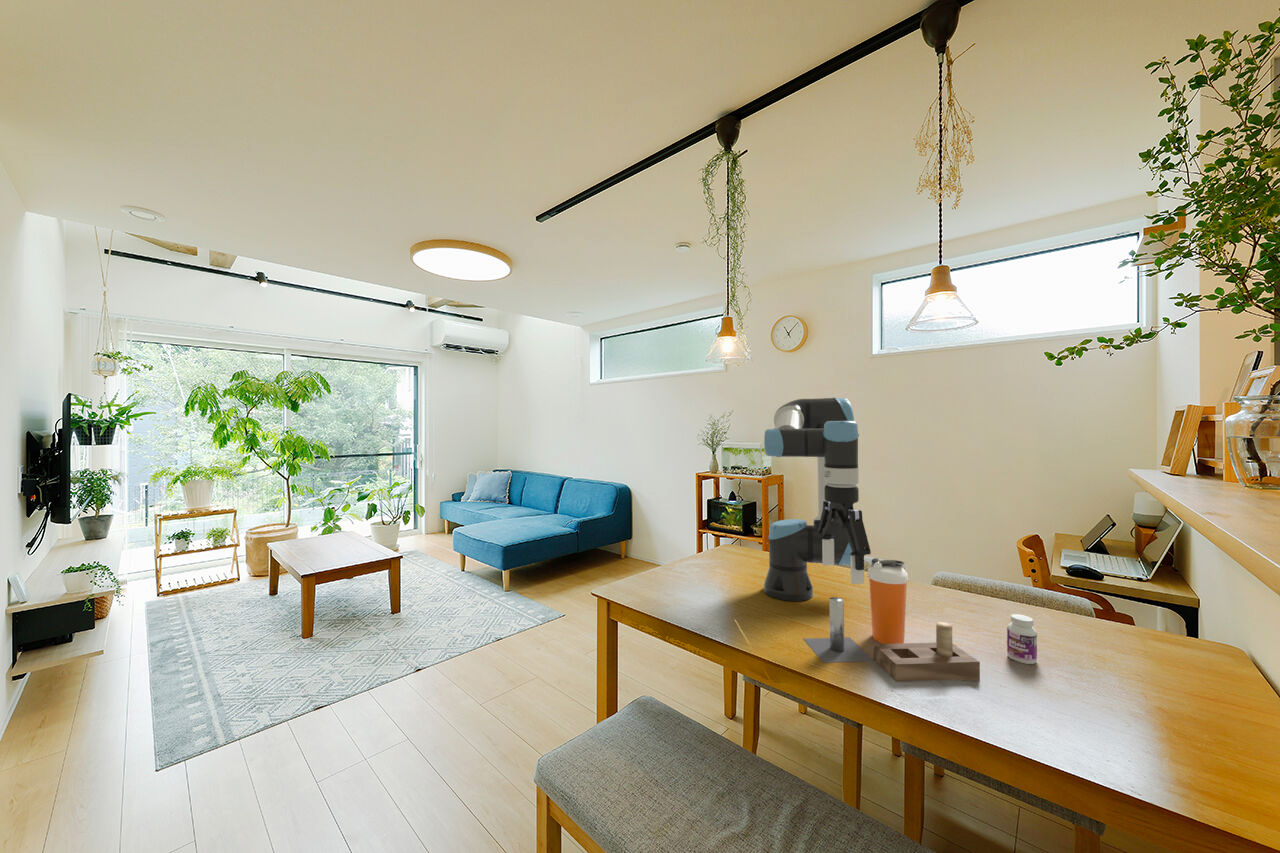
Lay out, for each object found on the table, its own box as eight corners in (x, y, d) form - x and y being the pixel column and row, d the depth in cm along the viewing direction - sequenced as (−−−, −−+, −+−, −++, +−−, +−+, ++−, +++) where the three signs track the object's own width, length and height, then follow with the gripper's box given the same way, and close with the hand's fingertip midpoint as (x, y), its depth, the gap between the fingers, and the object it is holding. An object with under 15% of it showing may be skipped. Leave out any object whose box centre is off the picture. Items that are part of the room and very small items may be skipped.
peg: (827, 646, 115) (827, 597, 115) (840, 645, 115) (840, 596, 115) (833, 652, 111) (833, 602, 111) (846, 652, 111) (846, 601, 111)
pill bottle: (1006, 659, 108) (1006, 617, 108) (1007, 651, 112) (1007, 610, 112) (1037, 667, 104) (1036, 624, 104) (1037, 658, 108) (1037, 616, 108)
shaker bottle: (914, 650, 113) (913, 567, 113) (874, 647, 115) (873, 565, 115) (901, 633, 122) (900, 556, 122) (864, 631, 124) (863, 555, 123)
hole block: (873, 661, 108) (873, 644, 108) (950, 659, 108) (950, 642, 108) (896, 683, 99) (896, 664, 99) (979, 680, 99) (979, 661, 99)
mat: (803, 640, 119) (803, 638, 119) (849, 638, 119) (849, 637, 119) (823, 664, 107) (823, 662, 107) (875, 662, 107) (874, 661, 107)
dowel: (933, 666, 105) (933, 622, 105) (946, 666, 105) (946, 622, 105) (942, 674, 102) (942, 628, 102) (956, 673, 102) (955, 627, 102)
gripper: (803, 479, 124) (804, 559, 125) (854, 493, 100) (855, 593, 100) (830, 478, 125) (831, 557, 125) (887, 492, 100) (888, 591, 100)
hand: (842, 573), depth 113 cm, fingers open, 13 cm apart
